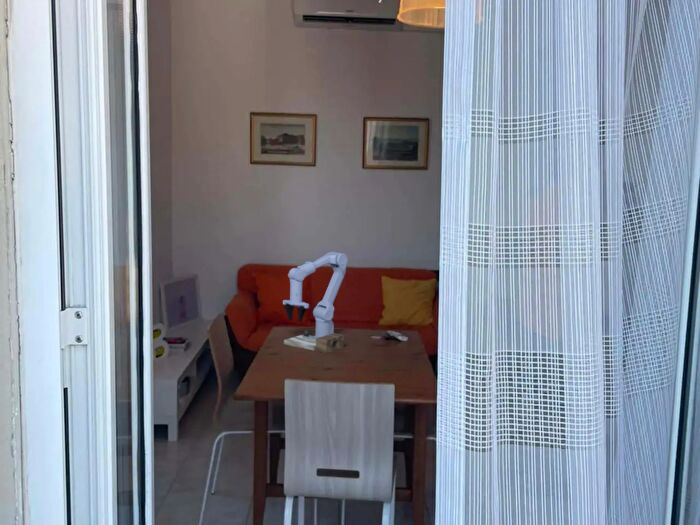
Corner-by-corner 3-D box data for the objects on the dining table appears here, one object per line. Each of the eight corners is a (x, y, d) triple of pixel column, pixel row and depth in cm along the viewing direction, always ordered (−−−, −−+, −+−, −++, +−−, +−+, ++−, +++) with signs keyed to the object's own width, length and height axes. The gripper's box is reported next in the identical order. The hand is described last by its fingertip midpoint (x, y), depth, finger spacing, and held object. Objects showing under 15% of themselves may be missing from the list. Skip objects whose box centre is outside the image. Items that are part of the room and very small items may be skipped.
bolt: (306, 338, 293) (306, 330, 292) (323, 342, 287) (323, 333, 286) (302, 339, 290) (302, 331, 290) (319, 343, 284) (319, 334, 284)
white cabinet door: (302, 338, 301) (302, 326, 300) (343, 347, 287) (343, 335, 287) (283, 344, 289) (284, 331, 289) (326, 353, 276) (326, 340, 275)
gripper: (279, 292, 293) (278, 319, 294) (302, 296, 285) (301, 324, 286) (288, 290, 298) (287, 317, 300) (311, 294, 290) (311, 321, 292)
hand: (295, 320), depth 293 cm, fingers open, 6 cm apart
